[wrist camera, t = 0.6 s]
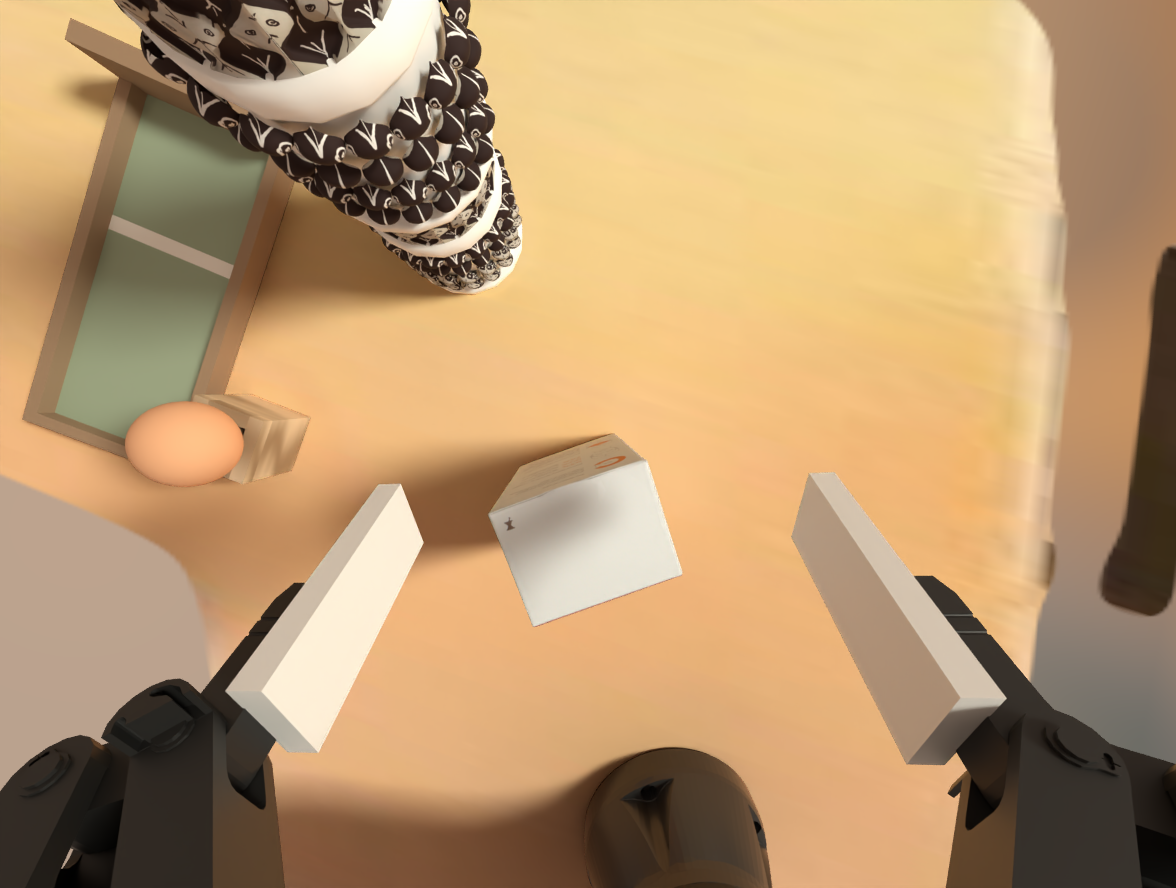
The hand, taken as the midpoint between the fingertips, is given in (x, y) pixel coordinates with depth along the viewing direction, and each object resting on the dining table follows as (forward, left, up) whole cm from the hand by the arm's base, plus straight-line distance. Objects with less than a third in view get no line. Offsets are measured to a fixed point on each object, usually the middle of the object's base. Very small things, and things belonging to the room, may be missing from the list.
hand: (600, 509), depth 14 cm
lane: (-1, +31, -19) cm, 36 cm away
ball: (-8, +22, -12) cm, 26 cm away
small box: (-3, -1, -19) cm, 19 cm away
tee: (-8, +22, -19) cm, 30 cm away
